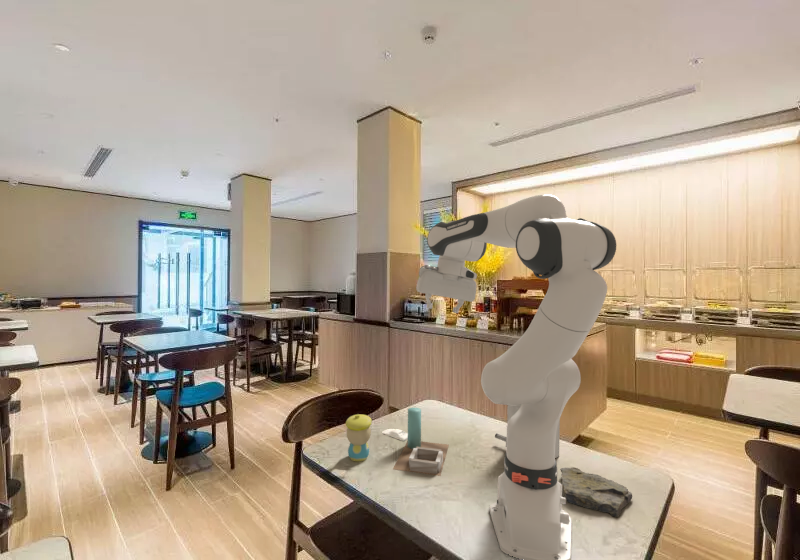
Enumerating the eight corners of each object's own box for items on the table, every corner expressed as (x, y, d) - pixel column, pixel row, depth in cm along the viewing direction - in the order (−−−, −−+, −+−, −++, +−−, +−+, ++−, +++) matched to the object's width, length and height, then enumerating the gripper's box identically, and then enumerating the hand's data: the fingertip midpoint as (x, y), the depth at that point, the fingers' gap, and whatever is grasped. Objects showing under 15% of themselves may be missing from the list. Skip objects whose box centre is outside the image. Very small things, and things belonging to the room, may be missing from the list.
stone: (633, 495, 100) (633, 482, 100) (625, 525, 88) (625, 510, 88) (563, 473, 111) (563, 462, 111) (547, 497, 99) (547, 484, 99)
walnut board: (440, 481, 106) (440, 465, 106) (392, 474, 109) (392, 458, 109) (448, 449, 125) (449, 435, 125) (408, 444, 129) (408, 431, 128)
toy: (373, 455, 120) (374, 409, 120) (368, 470, 111) (368, 420, 111) (349, 454, 121) (349, 408, 121) (342, 469, 112) (342, 419, 112)
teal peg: (419, 449, 121) (419, 412, 121) (406, 448, 122) (406, 411, 122) (422, 443, 125) (422, 408, 125) (409, 442, 127) (409, 407, 126)
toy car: (388, 432, 139) (388, 423, 139) (414, 441, 131) (414, 432, 131) (378, 437, 134) (378, 428, 134) (404, 447, 127) (404, 437, 127)
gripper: (423, 263, 119) (415, 306, 119) (481, 275, 124) (473, 316, 124) (418, 263, 125) (410, 304, 125) (473, 275, 130) (465, 314, 130)
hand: (442, 310), depth 125 cm, fingers open, 8 cm apart
